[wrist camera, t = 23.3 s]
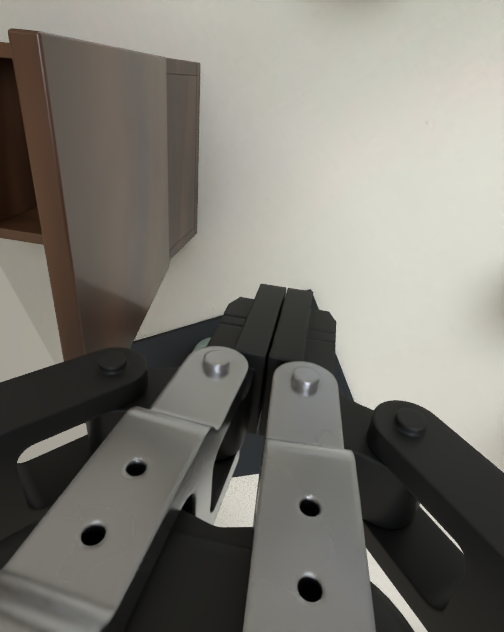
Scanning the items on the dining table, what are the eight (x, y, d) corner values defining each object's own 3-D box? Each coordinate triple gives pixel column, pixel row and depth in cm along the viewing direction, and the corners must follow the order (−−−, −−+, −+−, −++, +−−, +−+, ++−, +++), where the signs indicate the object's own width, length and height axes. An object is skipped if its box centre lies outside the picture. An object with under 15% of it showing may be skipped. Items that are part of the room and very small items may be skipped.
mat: (209, 477, 51) (208, 481, 51) (127, 343, 43) (125, 346, 43) (374, 453, 44) (374, 457, 44) (311, 289, 37) (310, 291, 36)
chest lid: (73, 423, 16) (94, 425, 16) (4, 27, 10) (40, 31, 10) (158, 266, 29) (169, 267, 30) (152, 56, 23) (166, 57, 23)
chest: (41, 210, 38) (-18, 235, 32) (14, 45, 32) (-67, 35, 25) (197, 233, 36) (166, 264, 30) (200, 63, 30) (162, 57, 24)
